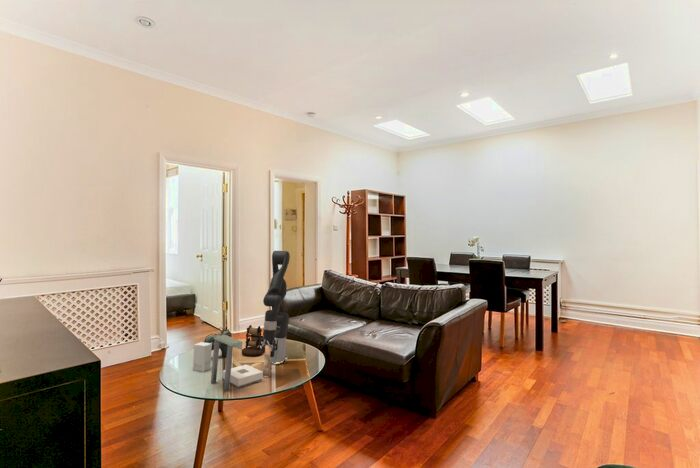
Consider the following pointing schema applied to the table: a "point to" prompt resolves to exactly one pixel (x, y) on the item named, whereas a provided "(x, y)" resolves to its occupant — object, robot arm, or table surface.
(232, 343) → the twin post stand
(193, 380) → the table surface
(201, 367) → the skincare box
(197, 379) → the table surface
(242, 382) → the socket block
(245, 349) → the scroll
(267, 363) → the peg
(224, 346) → the ceramic cat
